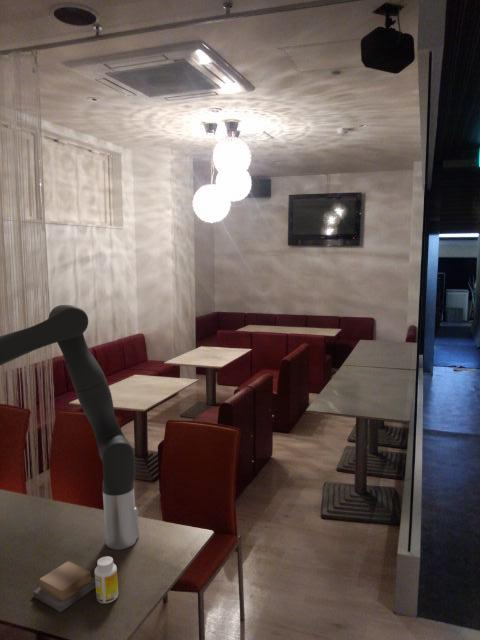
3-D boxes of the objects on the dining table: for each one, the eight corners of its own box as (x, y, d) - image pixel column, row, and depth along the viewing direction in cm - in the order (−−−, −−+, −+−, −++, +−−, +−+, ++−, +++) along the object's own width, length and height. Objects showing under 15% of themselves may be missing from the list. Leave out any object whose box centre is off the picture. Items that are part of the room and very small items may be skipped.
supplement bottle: (121, 590, 134) (119, 554, 133) (114, 605, 129) (111, 568, 127) (101, 589, 135) (98, 553, 134) (92, 604, 130) (90, 566, 128)
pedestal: (71, 571, 143) (70, 556, 142) (98, 585, 137) (97, 569, 136) (33, 596, 133) (32, 580, 132) (60, 612, 127) (59, 595, 126)
